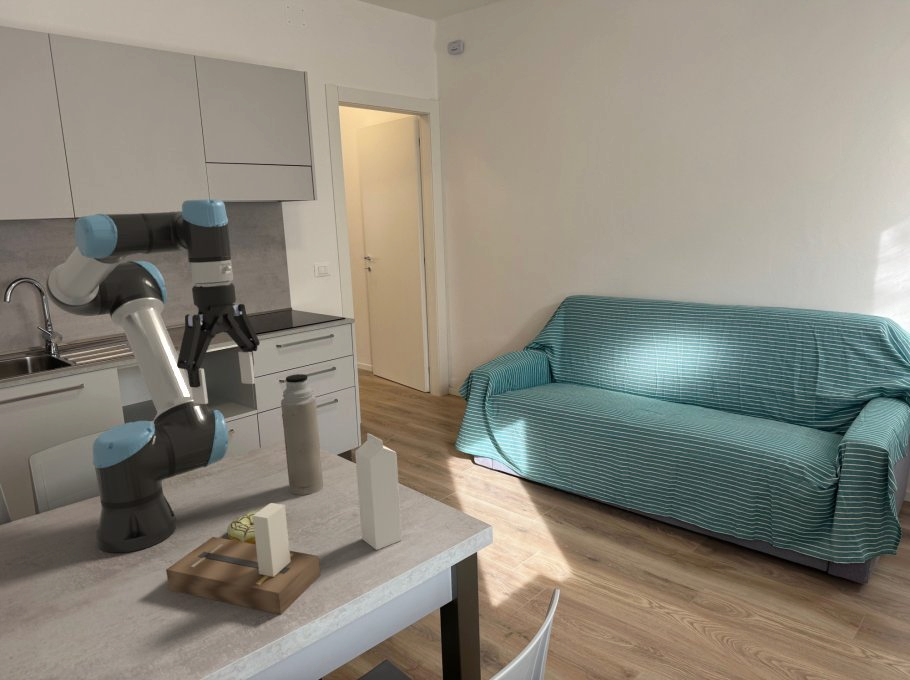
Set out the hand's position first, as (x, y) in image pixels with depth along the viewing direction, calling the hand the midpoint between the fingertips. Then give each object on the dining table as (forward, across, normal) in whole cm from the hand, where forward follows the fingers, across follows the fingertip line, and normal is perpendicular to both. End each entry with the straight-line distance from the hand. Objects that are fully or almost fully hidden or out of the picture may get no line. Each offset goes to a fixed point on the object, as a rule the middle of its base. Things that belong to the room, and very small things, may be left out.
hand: (225, 392), depth 125 cm
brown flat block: (+32, -12, -10) cm, 35 cm away
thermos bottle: (+32, +26, +2) cm, 41 cm away
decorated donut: (+32, +3, 0) cm, 32 cm away
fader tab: (+28, -12, -17) cm, 34 cm away
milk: (+32, +9, -27) cm, 43 cm away
